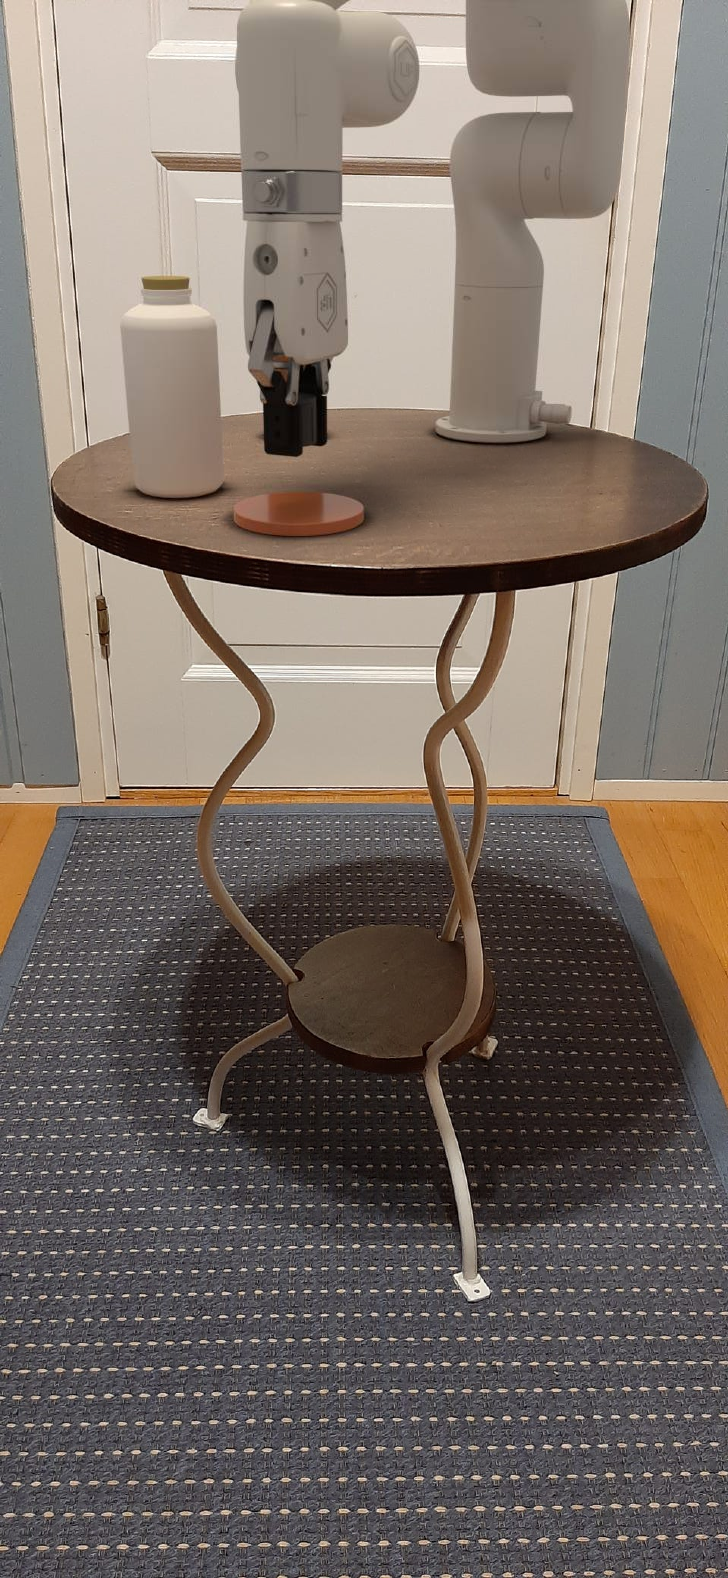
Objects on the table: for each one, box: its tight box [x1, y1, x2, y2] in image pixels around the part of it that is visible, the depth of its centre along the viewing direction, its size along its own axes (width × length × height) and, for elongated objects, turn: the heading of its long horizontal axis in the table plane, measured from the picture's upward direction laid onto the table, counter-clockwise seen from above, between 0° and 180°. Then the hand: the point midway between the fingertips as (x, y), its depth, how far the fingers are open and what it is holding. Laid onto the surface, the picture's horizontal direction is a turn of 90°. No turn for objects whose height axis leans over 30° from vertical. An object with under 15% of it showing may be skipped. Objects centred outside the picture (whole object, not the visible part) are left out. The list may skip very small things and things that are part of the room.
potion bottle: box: [120, 275, 225, 499], centre depth 102 cm, size 8×8×18 cm
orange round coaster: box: [232, 491, 365, 537], centre depth 97 cm, size 11×11×1 cm
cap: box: [296, 393, 317, 448], centre depth 94 cm, size 4×4×4 cm
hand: (296, 447), depth 94 cm, fingers closed on cap, 4 cm apart
